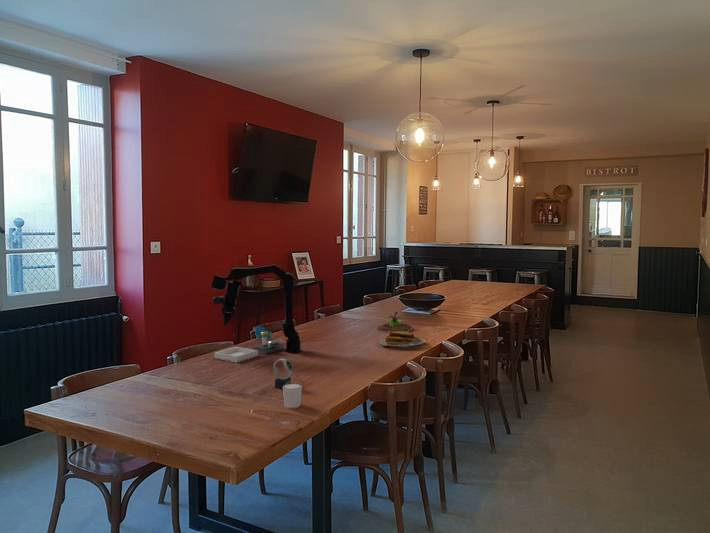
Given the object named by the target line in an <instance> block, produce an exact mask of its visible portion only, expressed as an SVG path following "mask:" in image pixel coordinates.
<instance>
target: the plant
mask: <svg viewBox="0 0 710 533" xmlns="http://www.w3.org/2000/svg"><path fill="white" fill-rule="evenodd" d="M398 314H399V312H398V311H395V312H394V316H392V315H390V316H388V319H387V320H386V322H387V323H384V324H382V325H378V326H377V331H378V330H380V331H390V332H392V331H408V330H410V329H411V328H412V329H413V326H412V325H410V324H408V323H407V324H406V323H403V321H402V320H403V317H402V316H397V315H398ZM396 316H397V317H396ZM380 331H379V332H380Z"/></svg>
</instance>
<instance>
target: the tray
mask: <svg viewBox="0 0 710 533" xmlns="http://www.w3.org/2000/svg"><path fill="white" fill-rule="evenodd" d="M213 353H214V358H213V359H215V360H218V359H220V361H223V360H225V362H229V361H230V362H231V363H234V362H235V363H234V364H238V362H239V363H242V362H245V361H248V360H251V359H250V358H252V359H254V358H253V357H255V358H257V356H258V357H259V353H258V350H253V348H252V349H251V348H246V347H241V346H234V347H230V348H226V349H221V350H220V351H216V352H213ZM247 359H248V360H247ZM244 360H245V361H244ZM241 361H242V362H241ZM230 362H229V363H230Z"/></svg>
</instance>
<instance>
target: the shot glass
mask: <svg viewBox="0 0 710 533" xmlns="http://www.w3.org/2000/svg"><path fill="white" fill-rule="evenodd" d="M282 392H283V394H282V395H283V404H284V407H285V408H287V409H295V408H299V407H300V406H301V401H302V392H303V386H302V385H301V384H299V383H291V384H287V385H284V386H283V389H282Z"/></svg>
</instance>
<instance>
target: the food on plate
mask: <svg viewBox="0 0 710 533" xmlns="http://www.w3.org/2000/svg"><path fill="white" fill-rule="evenodd" d="M388 333H389V332H388ZM384 342H387V345H386V344H384ZM425 342H426V339H423V338H420V337H417V336H415V335H414V333H413V332H411V331H409V332H407V331H392V332H390V333H389V335H387V336H386V339H385V338H384V339H381V340H380V339H379V341H378V345H381V346H384V348H385V349H386V348H387V347H391V348H404V349H405V348H409V347H414V346H420V345H423V344H424V343H425Z"/></svg>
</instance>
